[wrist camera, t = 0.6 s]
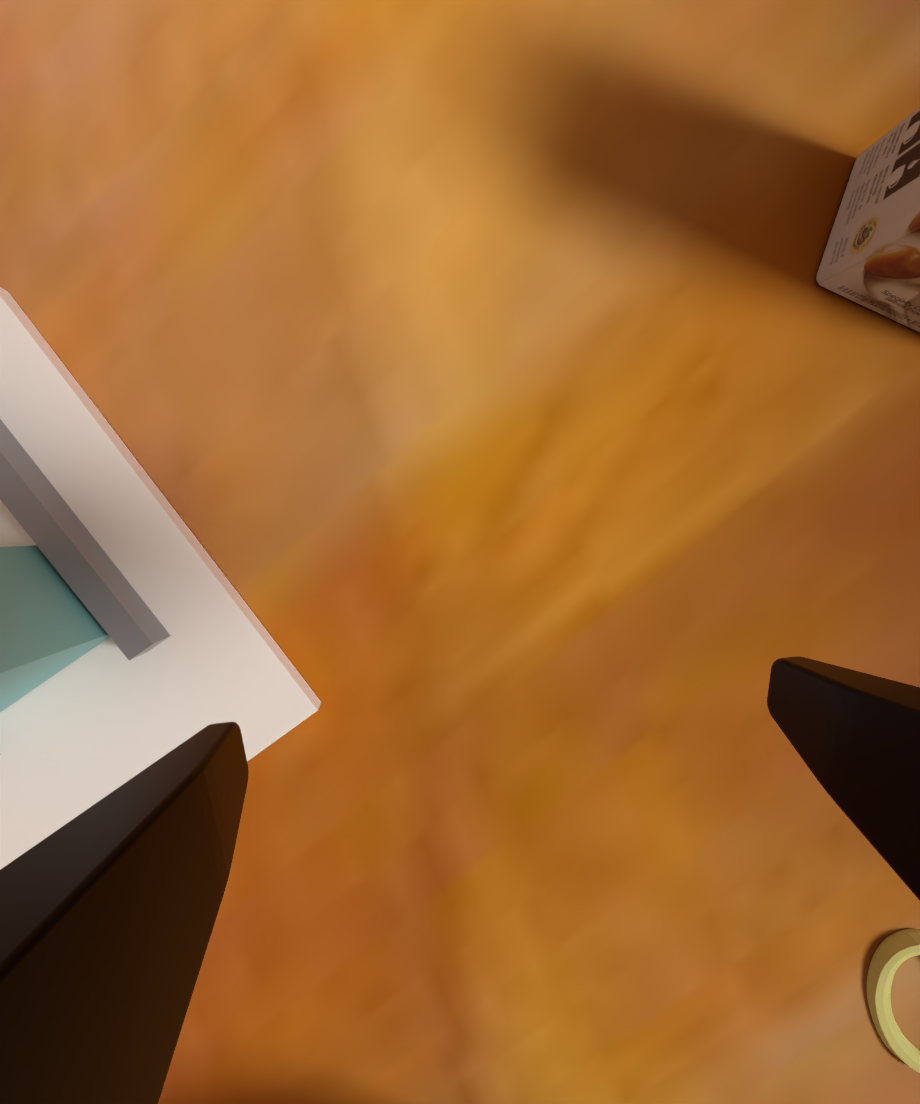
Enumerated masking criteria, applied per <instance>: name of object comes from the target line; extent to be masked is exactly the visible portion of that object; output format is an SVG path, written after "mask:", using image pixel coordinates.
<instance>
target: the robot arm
mask: <svg viewBox="0 0 920 1104" xmlns="http://www.w3.org/2000/svg"><path fill="white" fill-rule="evenodd" d="M767 704H768V709H769V712H770V714H771V716H772V717H773V719H774V720H775V721H776V723H777V724H778V726H779V727H780V728H781V730H782V731H783V733H784V734H785V735H786V737H787V738H788V739H789V741H790V742H791V744H792V745H793V746H794V748H795V749H796V751H797V752H798V753H799V755H800V756H801V758H802V759H803V760H804V762H805V763H806V764H807V766H808V767H809V769H810V770H811V771H812V773H813V774H814V776H815V777H816V778H817V780H818V781H819V782H820V784H821V785H822V786H823V788H824V789H825V790H826V792H827V793H828V794H829V795H830V796H831V798H832V799H833V800H834V801H835V803H836V804H837V805H838V806H839V807H840V808H841V810H842V811H843V812H844V813H845V814H846V815H847V817H848V818H849V819H850V820H851V821H852V822H853V824H854V825H855V826H856V827H857V828H858V829H859V831H860V832H861V833H862V834H863V835H864V836H865V837H866V839H867V840H868V841H869V842H870V843H871V844H872V846H873V847H874V848H875V849H876V850H877V851H878V853H879V854H880V855H881V856H882V857H883V858H884V860H885V861H886V862H887V863H888V864H889V865H890V867H891V868H892V869H893V870H894V871H895V872H896V874H897V875H898V876H899V877H900V878H901V879H902V880H903V882H904V883H905V884H906V885H907V886H908V887H909V889H910V890H911V891H912V892H913V893H914V894H915V896H916V897H917V898H918V899H919V900H920V688H919V687H916V686H912V685H908V684H904V683H900V682H896V681H893V680H889V679H885V678H881V677H877V676H873V675H870V674H866V673H862V672H858V671H854V670H850V669H846V668H843V667H839V666H835V665H831V664H827V663H823V662H820V661H816V660H812V659H808V658H804V657H788V658H780V659H777V660H776V661H775V662H774V663H773V665H772V668H771V674H770V682H769V690H768V697H767ZM247 782H248V764H247V759H246V754H245V749H244V744H243V739H242V734H241V730H240V727H239V725H238V724H237V723H236V722H224V723H215V724H210V725H208V726H206V727H205V728H203V729H202V730H201V731H199V732H198V733H196V734H195V735H193V736H192V737H190V738H189V739H188V740H186V741H185V742H183V743H182V744H180V745H179V746H178V747H176V748H175V749H173V750H172V751H170V752H169V753H167V754H166V755H165V756H163V757H162V758H160V759H159V760H157V761H156V762H154V763H153V764H152V765H150V766H149V767H147V768H146V769H144V770H143V771H142V772H140V773H139V774H137V775H136V776H134V777H133V778H131V779H130V780H129V781H127V782H126V783H124V784H123V785H121V786H120V787H119V788H117V789H116V790H114V791H113V792H111V793H110V794H108V795H107V796H106V797H104V798H103V799H101V800H100V801H98V802H97V803H96V804H94V805H93V806H91V807H90V808H88V809H87V810H85V811H84V812H83V813H81V814H80V815H78V816H77V817H75V818H74V819H72V820H71V821H70V822H68V823H67V824H65V825H64V826H62V827H61V828H60V829H58V830H57V831H55V832H54V833H52V834H51V835H49V836H48V837H47V838H45V839H44V840H42V841H41V842H39V843H38V844H37V845H35V846H34V847H32V848H31V849H29V850H28V851H26V852H25V853H24V854H22V855H21V856H19V857H18V858H16V859H15V860H13V861H12V862H11V863H9V864H8V865H6V866H5V867H3V868H2V869H1V870H0V1104H158V1101H159V1098H160V1095H161V1092H162V1089H163V1085H164V1082H165V1079H166V1076H167V1073H168V1070H169V1066H170V1063H171V1060H172V1057H173V1054H174V1050H175V1047H176V1044H177V1041H178V1038H179V1035H180V1031H181V1028H182V1025H183V1022H184V1019H185V1015H186V1012H187V1009H188V1006H189V1003H190V1000H191V996H192V993H193V990H194V987H195V984H196V980H197V977H198V974H199V971H200V968H201V965H202V961H203V958H204V955H205V952H206V949H207V945H208V942H209V939H210V936H211V933H212V930H213V926H214V923H215V920H216V917H217V914H218V910H219V907H220V904H221V901H222V898H223V895H224V891H225V888H226V884H227V881H228V877H229V873H230V868H231V863H232V859H233V854H234V849H235V844H236V838H237V833H238V828H239V823H240V818H241V813H242V808H243V803H244V798H245V793H246V788H247Z"/></svg>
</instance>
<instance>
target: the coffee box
mask: <svg viewBox="0 0 920 1104" xmlns="http://www.w3.org/2000/svg"><path fill="white" fill-rule="evenodd" d="M816 280H817V282H818V284H819V285H820V286H822V287H824V288H826V289H828V290H830V291H833V292H835V293H837V294H839V295H841V296H843V297H845V298H847V299H850V300H852V301H854V302H856V303H858V304H860V305H862V306H865V307H867V308H869V309H871V310H873V311H875V312H877V313H879V314H882V315H884V316H886V317H888V318H890V319H892V320H894V321H896V322H898V323H901V324H903V325H905V326H907V327H909V328H911V329H913V330H915V331H918V332H920V107H919V108H918V109H917V110H915V111H914V112H913V113H912V114H910V115H909V116H908V117H907V118H905V119H904V120H903V121H902V122H901V123H899V124H898V125H897V126H896V127H894V128H893V129H892V130H890V131H889V132H888V133H887V134H885V135H884V136H883V137H882V138H881V139H879V140H878V141H877V142H876V143H874V144H873V145H872V146H870V147H869V148H868V149H867V150H865V151H864V152H863V153H862V154H861V155H859V156H858V157H857V159H856V161H855V164H854V167H853V170H852V173H851V175H850V178H849V181H848V184H847V187H846V190H845V193H844V196H843V199H842V202H841V205H840V207H839V210H838V213H837V216H836V219H835V222H834V225H833V228H832V231H831V234H830V237H829V240H828V243H827V246H826V249H825V252H824V255H823V258H822V261H821V264H820V266H819V269H818V273H817V277H816Z"/></svg>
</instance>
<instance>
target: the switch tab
mask: <svg viewBox="0 0 920 1104" xmlns="http://www.w3.org/2000/svg"><path fill="white" fill-rule="evenodd" d="M109 637H110V636H109V635H108V634H107V632H106V631H105V630H104V629H103V627H102V626H101V625H100V624H99V622H98V621H97V620H96V619H95V617H94V616H93V615H92V614H91V612H90V611H89V610H88V609H87V607H86V606H85V605H84V604H83V602H82V601H81V600H80V599H79V597H78V596H77V595H76V594H75V592H74V591H73V590H72V589H71V587H70V586H69V585H68V584H67V582H66V581H65V580H64V579H63V577H62V576H61V575H60V574H59V572H58V571H57V570H56V569H55V567H54V566H53V565H52V564H51V562H50V561H49V560H48V559H47V557H46V556H45V555H44V554H43V552H42V551H41V550H40V549H39V547H38V546H37V545H34V546H11V547H0V712H2V711H3V710H5V709H6V708H8V707H9V706H10V705H12V704H13V703H15V702H16V701H18V700H19V699H21V698H22V697H23V696H25V695H26V694H28V693H29V692H31V691H32V690H34V689H35V688H36V687H38V686H39V685H41V684H42V683H44V682H45V681H47V680H48V679H49V678H51V677H52V676H54V675H55V674H57V673H58V672H60V671H61V670H62V669H64V668H65V667H67V666H68V665H70V664H71V663H73V662H74V661H75V660H77V659H78V658H80V657H81V656H83V655H84V654H86V653H87V652H88V651H90V650H91V649H93V648H94V647H96V646H97V645H99V644H100V643H101V642H103V641H104V640H106V639H107V638H109Z"/></svg>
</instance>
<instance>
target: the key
mask: <svg viewBox="0 0 920 1104" xmlns="http://www.w3.org/2000/svg"><path fill="white" fill-rule="evenodd" d="M917 955H920V930H917V929H904V930H901V931H898V932H895V933H893V934H892V935H890V936H888V937H886V938H885V940H884V941H883V942H882V943H881V944H880V945H879V946H878V948H877V949H876V951H875V953H874V954H873V957H872V960H871V962H870V966H869V971H868V975H867V985H866V989H867V1000H868V1005H869V1009H870V1013H871V1017H872V1020H873V1022H874V1025H875V1027H876V1030H877V1032H878V1034H879V1036H880V1038H881V1040H882V1041H883V1043H884V1044H885V1045H886V1047H887V1048H888V1049H889V1050H890V1051H891V1052H892V1053H893V1054H894V1055H895V1056H897V1057H898V1058H899V1059H901V1060H902V1061H903V1062H905V1063H906V1064H907V1065H908V1066H910V1067H911V1068H912V1069H914V1070H915V1071H917V1072H919V1073H920V1050H919V1049H917V1048H915V1047H914V1046H913V1045H912V1044H911V1043H910V1042H909V1041H908V1040H907V1039H906V1037H905V1036H904V1035H903V1034H902V1032H901V1030H900V1029H899V1027H898V1025H897V1024H896V1022H895V1020H894V1017H893V1013H892V1010H891V1001H890V991H891V985H892V981H893V977H894V974H895V972H896V970H897V968H898V967H899V966H900V964H901V963H902V962H904V961H905V960H906V959H908V958H910V957H912V956H917Z"/></svg>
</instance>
